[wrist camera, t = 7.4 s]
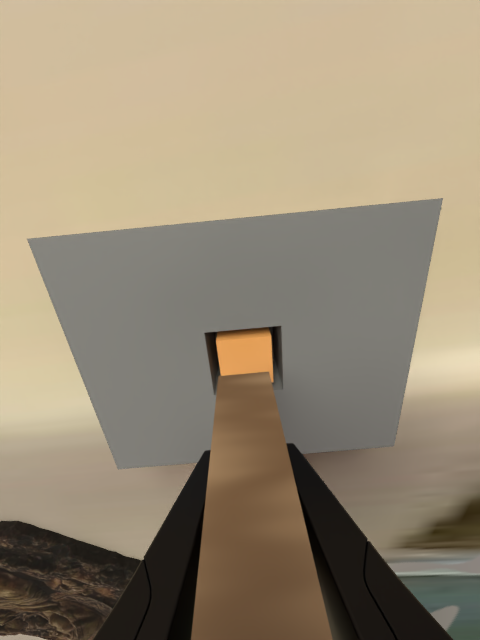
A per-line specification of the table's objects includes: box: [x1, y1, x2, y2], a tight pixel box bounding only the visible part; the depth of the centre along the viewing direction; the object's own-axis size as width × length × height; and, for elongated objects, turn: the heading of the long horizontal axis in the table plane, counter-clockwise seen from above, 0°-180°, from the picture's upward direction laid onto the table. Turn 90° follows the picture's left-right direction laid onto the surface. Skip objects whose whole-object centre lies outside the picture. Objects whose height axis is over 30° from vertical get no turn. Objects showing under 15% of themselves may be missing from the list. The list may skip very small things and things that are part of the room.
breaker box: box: [27, 198, 443, 469], centre depth 17 cm, size 20×16×4 cm
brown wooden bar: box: [191, 372, 333, 640], centre depth 7 cm, size 2×2×10 cm
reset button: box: [216, 327, 273, 382], centre depth 16 cm, size 3×3×4 cm
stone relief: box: [0, 521, 141, 640], centre depth 30 cm, size 26×4×30 cm
